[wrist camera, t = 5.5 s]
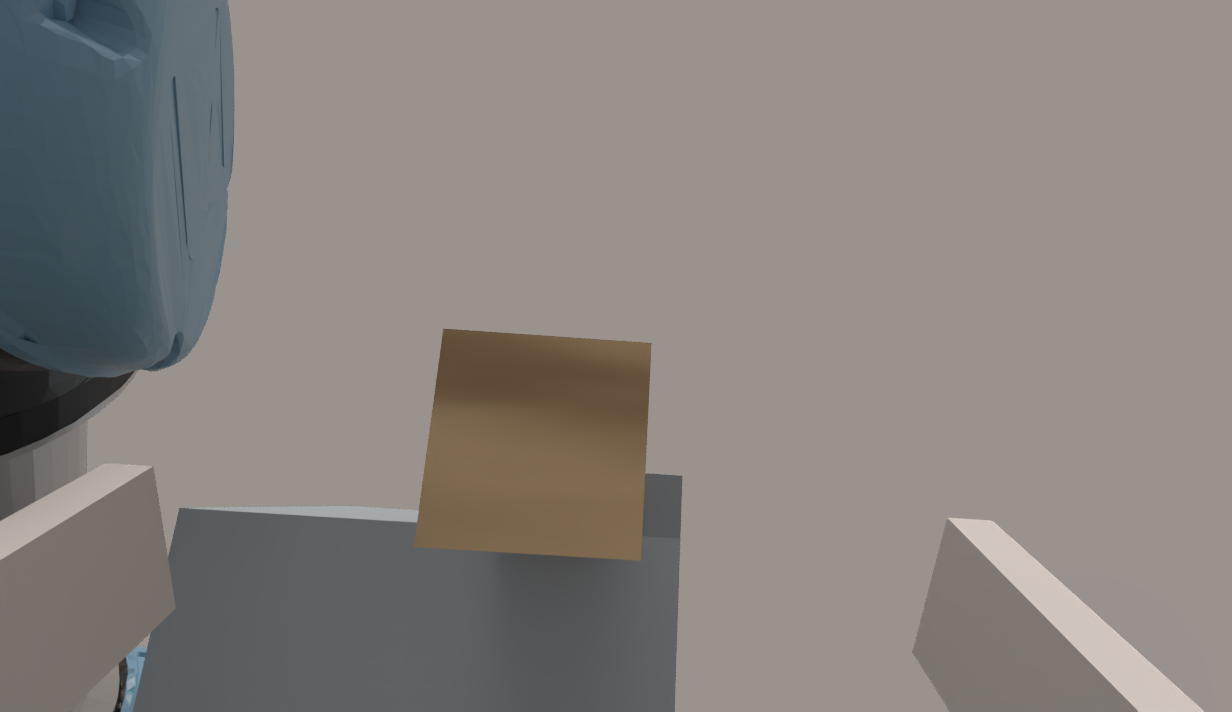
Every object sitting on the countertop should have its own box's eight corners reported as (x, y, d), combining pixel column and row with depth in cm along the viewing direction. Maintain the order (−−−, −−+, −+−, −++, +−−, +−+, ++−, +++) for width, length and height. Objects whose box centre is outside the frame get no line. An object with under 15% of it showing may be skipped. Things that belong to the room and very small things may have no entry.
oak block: (641, 561, 11) (651, 343, 12) (413, 547, 10) (443, 328, 11) (607, 521, 33) (611, 449, 34) (534, 517, 33) (541, 444, 34)
